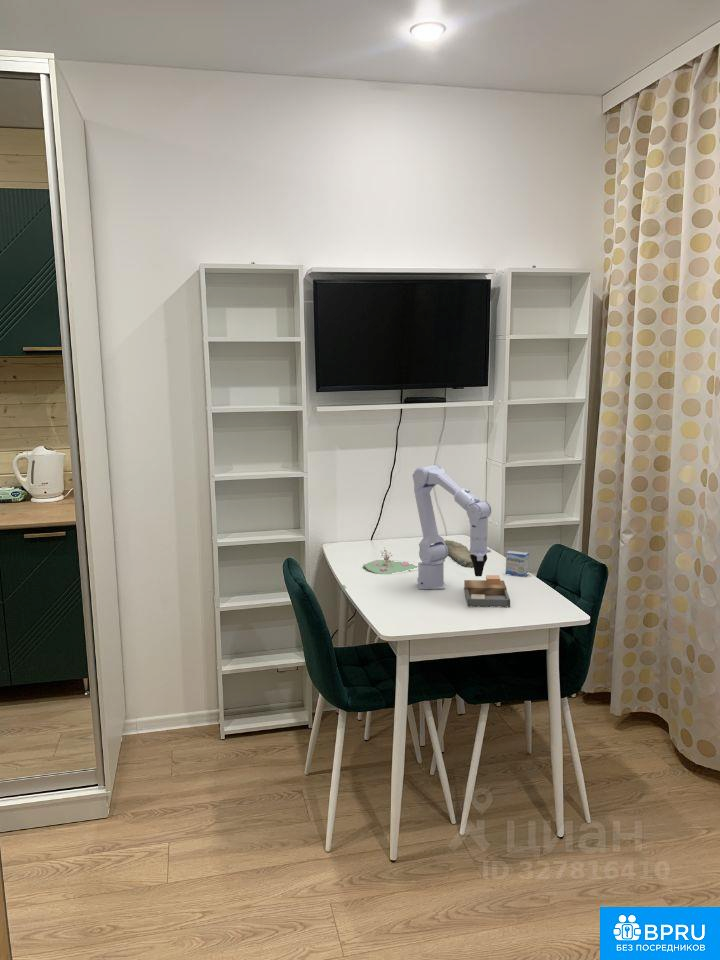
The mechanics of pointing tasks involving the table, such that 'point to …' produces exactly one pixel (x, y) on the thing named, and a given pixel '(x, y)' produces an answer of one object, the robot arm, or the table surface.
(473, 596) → the cream tile
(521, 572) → the medicine box
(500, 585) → the walnut board
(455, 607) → the table surface
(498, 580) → the terracotta tile
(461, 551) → the elongated rock
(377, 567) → the plant
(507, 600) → the bin
